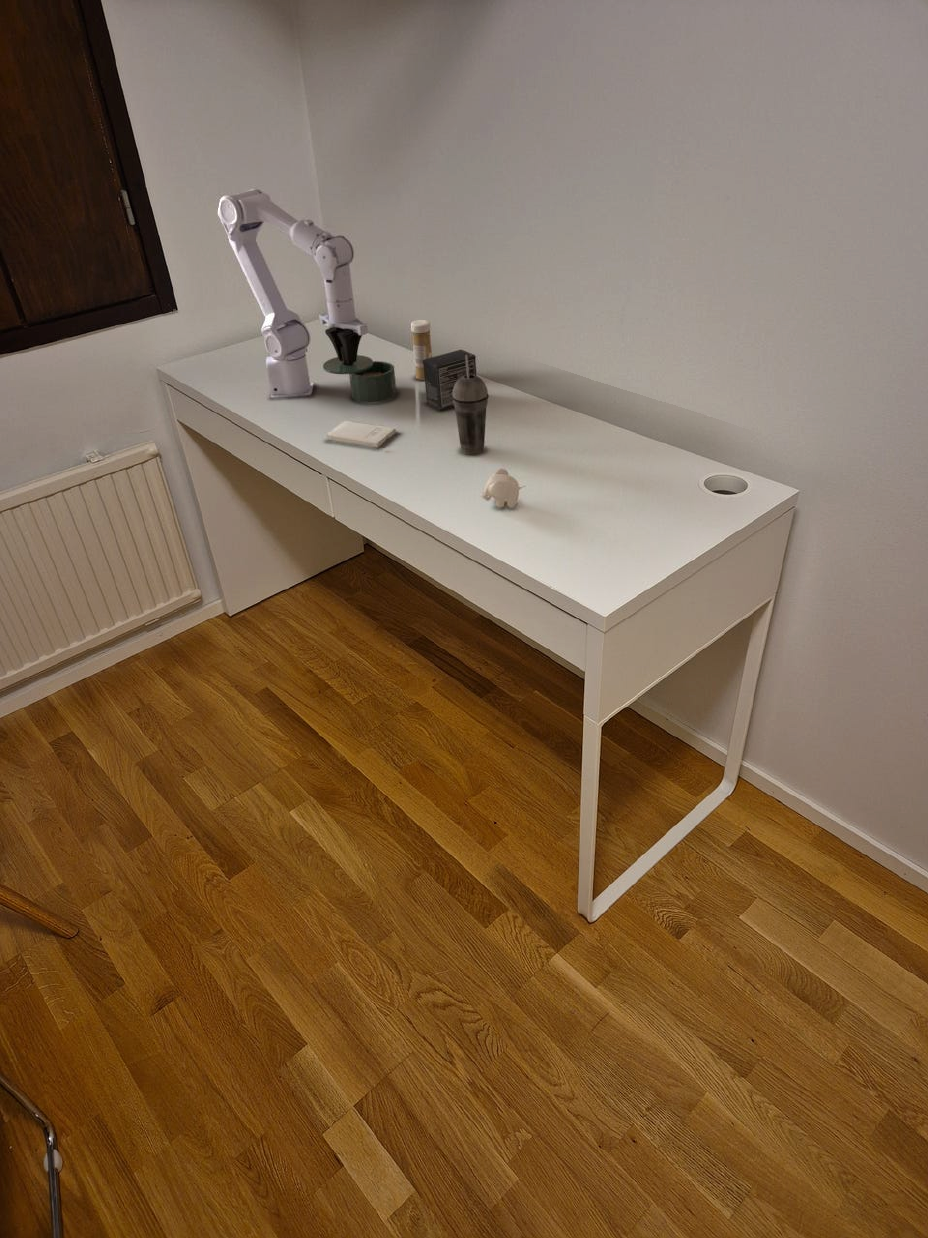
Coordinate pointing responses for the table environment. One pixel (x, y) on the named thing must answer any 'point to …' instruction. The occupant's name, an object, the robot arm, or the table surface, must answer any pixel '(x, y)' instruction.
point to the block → (372, 374)
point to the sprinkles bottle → (421, 345)
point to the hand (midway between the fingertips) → (347, 360)
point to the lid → (344, 367)
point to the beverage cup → (470, 411)
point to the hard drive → (360, 434)
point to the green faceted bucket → (374, 383)
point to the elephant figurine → (502, 489)
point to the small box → (445, 377)
